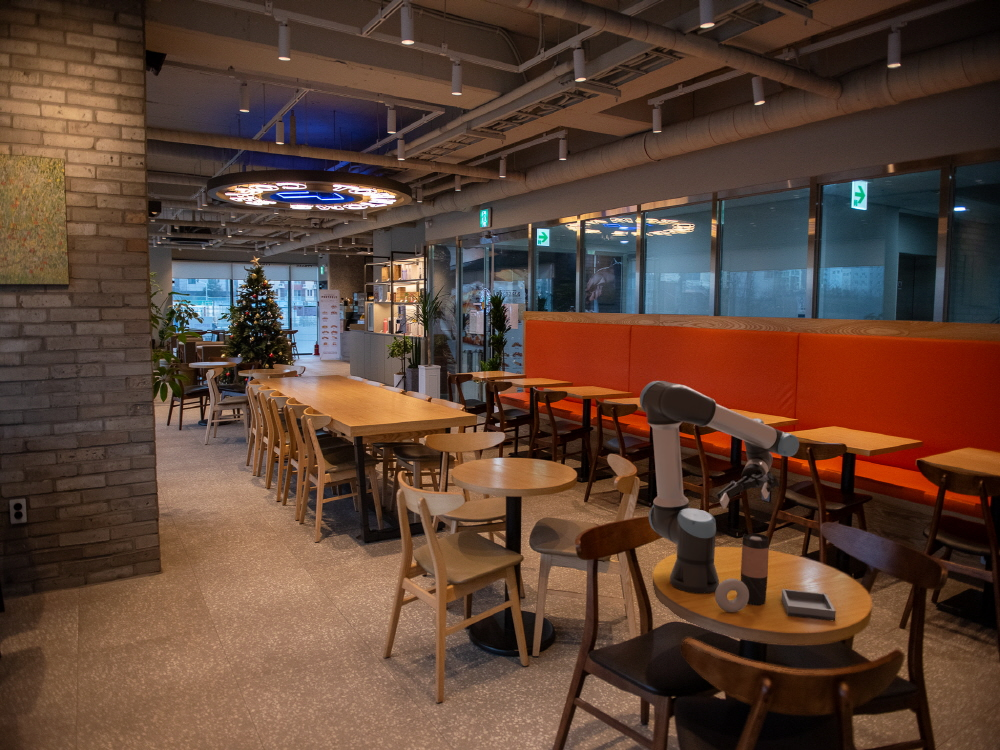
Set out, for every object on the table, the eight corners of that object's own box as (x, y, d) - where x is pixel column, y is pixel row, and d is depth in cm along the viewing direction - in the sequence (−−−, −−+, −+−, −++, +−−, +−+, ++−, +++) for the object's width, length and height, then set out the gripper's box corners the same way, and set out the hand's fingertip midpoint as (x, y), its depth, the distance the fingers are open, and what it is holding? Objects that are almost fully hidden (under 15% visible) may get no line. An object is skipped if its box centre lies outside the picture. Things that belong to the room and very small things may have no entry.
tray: (787, 615, 199) (788, 605, 199) (781, 598, 211) (781, 588, 211) (835, 621, 196) (835, 610, 195) (825, 603, 208) (826, 593, 208)
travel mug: (763, 608, 204) (766, 542, 202) (737, 602, 208) (740, 538, 206) (768, 599, 210) (771, 535, 208) (742, 593, 214) (745, 531, 212)
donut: (745, 609, 203) (747, 576, 202) (750, 614, 200) (751, 581, 199) (712, 609, 202) (713, 576, 201) (716, 614, 199) (718, 581, 198)
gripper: (796, 474, 226) (787, 501, 208) (724, 492, 240) (710, 519, 222) (786, 453, 226) (777, 479, 208) (715, 473, 240) (701, 498, 222)
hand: (742, 500), depth 215 cm, fingers open, 13 cm apart
